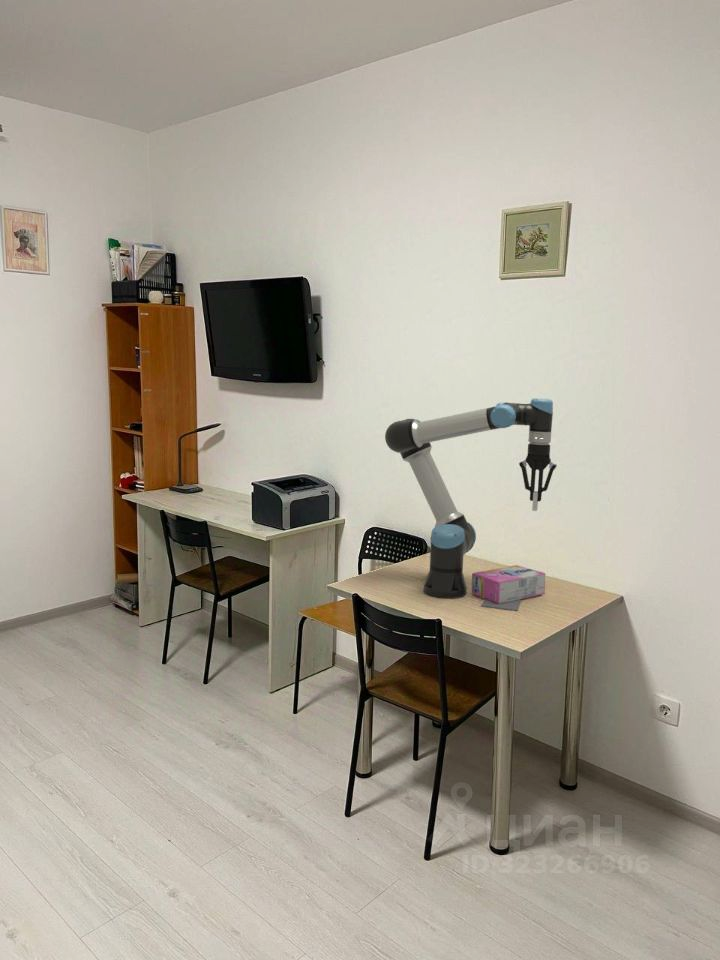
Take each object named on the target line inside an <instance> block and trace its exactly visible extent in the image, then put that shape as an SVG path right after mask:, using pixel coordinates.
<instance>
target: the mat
mask: <svg viewBox="0 0 720 960" xmlns="http://www.w3.org/2000/svg"><path fill="white" fill-rule="evenodd" d="M521 601H522V599H519V600H514V601H510V602H506V603H501V604H497V603H495V602H492V601H490V600H487V599H485V598H483V601H482V603H481V604H480V607H483V608H488V609H496V610H506V611H512V610H514V611H513V612H518V610H519V607H520V605H521Z"/></svg>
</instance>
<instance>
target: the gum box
mask: <svg viewBox="0 0 720 960" xmlns="http://www.w3.org/2000/svg"><path fill="white" fill-rule="evenodd" d="M545 584H546V573H545V572H543V571H539V570H535V569H532V568H530V567H529V568H528V567H525V566H521V565H518V564H517V565H516V564H515V565H510V566H506V567H500V568H493V569H490V570H483V571H476V572H472V575H471V594H472V595H474V596H477V597H480V598H483V599H487V600H490V601H492V602H495V603H497V604H501V603H506V602H510V601H514V600H519V599H521V600H522V599H528V598H531V597H536V596H539V595H540V596H541V595H543V594H545V589H546V588H545V586H546V585H545Z"/></svg>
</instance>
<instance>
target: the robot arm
mask: <svg viewBox="0 0 720 960" xmlns="http://www.w3.org/2000/svg"><path fill="white" fill-rule="evenodd" d="M553 406H554V402H553V400H552V399H550V398H531V400H530V402H529V403H518V402H517V403H516V402H498V403H496V405H495V406H491V407H487V408H481V409H477V410H472V411H471V410H470V411H467V412H463V413H458V414H453V415H449V416H448V415H447V416H444V417H439V418H433V419H429V420H428V419H427V420H424V421H420V420H419V419H415V418H406V419H402V420H398V421H395V422H393V423H391V424H390V425H389V426H388V427H387V429H386V431H385V434H384V435H385V436H384V440H385V443H386V445H387V448H389V449H390V450H391V451H393V452H395V453H397V454H400V457H401V458H402V460H403V461H405V462H407V463H408V464H409V466H410V468H411V470H412V471H413V474H414V476H415V478H416V481H417V482H418V485H419V487H420V489H421V491H422V493H423V496H424V497H425V500H426V502H427V504H428V507H429V509H430V510H431V512H432V514H433V517H434V519H435V521H436V522H435V525H434V527H433V528H432V530H431V534H430V553H429V555H430V556H429V571H428V574H427V576H426V579H425V581H424V584H423V592H424V593H425V594H426V595H428V596H431V597H435V598H440V599H457V598H462V597H465V596H466V595H467V591H468V590H467V589H468V588H467V583H466V579H465V576H464V572H463V571H464V570H463V567H464V555H466V554H467V553H468V552H470V550H472V549H473V547H474V545H475V542H476V539H477V533H476V530H475V529H476V528H475V527H474V526H473V525H472V524H471V523H470V522H468V521H467V519H466V517H465V515H464V513H462V512H459V511H458V510H457V507H456V506H455V504H454V501H453V499H452V496H451V495H450V492H449V490H448V488H447V485H446V484H445V481H444V480H443V477H442V475H441V474H440V471H439V469H438V467H437V465H436V463H435V461H434V459H433V456H432V454H431V451H432V449H433V446H432V444H431V443H433V442H438V441H442V440H448V439H452V438H458V437H462V436H467V435H472V434H473V435H474V434H477V433H482V432H483V433H484V432H487V431H493V430H499V429H507V428H509V427H511V426H528V427H529V429H528V444H527V455H526V457H525V459H524V460H523V461H520V462H519V463H518V464H519V467H520V469H521V471H522V473H521V474H522V477H523V483H524V489H525V491H526V490H527V491H529V501H530V502H532V507H531V509H532V512H537V511H538V505H539V502H541V501H542V495H543V494H542V493H543V492H547V490H548V488H549V485H550V482H551V480H552V476H553V473H554V471H555V469H556V468H557V466H558V465H557V464H556V463H554V462H552V460H551V457H550V455H551V445H550V443H551V441H552V428H553V416H554V412H553V410H554V409H553V408H554V407H553ZM527 465H528V466H529V468H530V470H531V471H530V472H531V475H530V482H529V475H528V469H527ZM548 466H549V467H548ZM547 467H548V468H549V470H548V474H547V476H546V479H545V482H544V481H543V480H544V479H543V478H544V470H545V469H546V468H547ZM537 471H538V480H537V481H538V482H537V490H535V489H536V488H535V486H536V475H537ZM543 483H544V486H543Z"/></svg>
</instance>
